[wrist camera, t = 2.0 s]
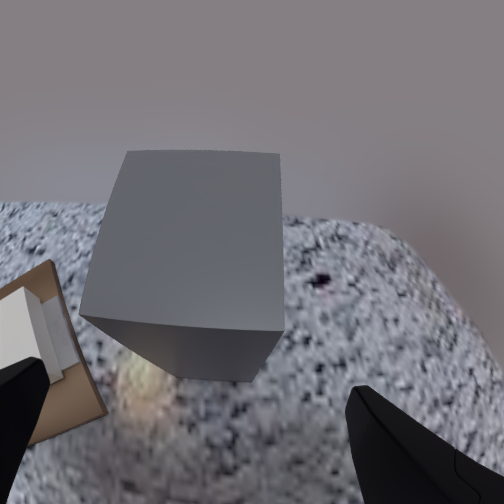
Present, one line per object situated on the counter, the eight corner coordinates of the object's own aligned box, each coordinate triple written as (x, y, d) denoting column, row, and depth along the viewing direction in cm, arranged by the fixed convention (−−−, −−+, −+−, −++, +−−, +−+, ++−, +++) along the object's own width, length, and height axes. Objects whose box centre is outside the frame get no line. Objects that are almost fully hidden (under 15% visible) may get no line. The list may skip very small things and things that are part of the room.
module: (251, 382, 18) (284, 330, 6) (177, 377, 17) (78, 314, 6) (253, 303, 20) (279, 150, 9) (184, 299, 20) (128, 147, 8)
